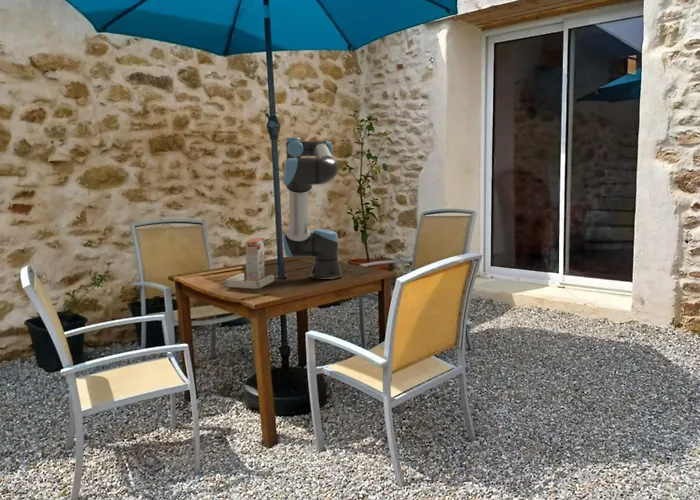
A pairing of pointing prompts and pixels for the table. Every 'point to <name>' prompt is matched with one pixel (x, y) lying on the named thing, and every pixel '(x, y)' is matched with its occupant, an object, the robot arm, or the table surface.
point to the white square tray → (247, 282)
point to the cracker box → (255, 259)
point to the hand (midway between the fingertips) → (295, 213)
